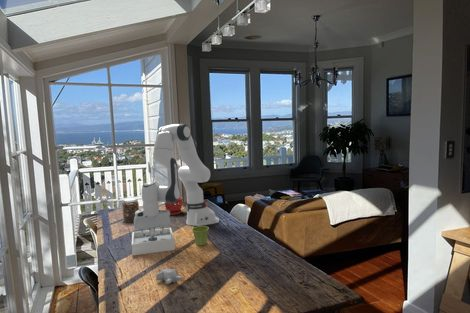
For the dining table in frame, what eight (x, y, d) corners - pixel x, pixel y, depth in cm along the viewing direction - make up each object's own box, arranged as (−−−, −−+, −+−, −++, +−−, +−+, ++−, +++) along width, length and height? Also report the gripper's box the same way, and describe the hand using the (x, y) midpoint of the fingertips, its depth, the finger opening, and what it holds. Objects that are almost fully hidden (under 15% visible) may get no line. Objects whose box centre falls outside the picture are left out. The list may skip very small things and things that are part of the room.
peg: (155, 242, 202) (154, 225, 201) (156, 244, 199) (154, 227, 198) (150, 243, 201) (148, 226, 200) (150, 245, 198) (149, 228, 197)
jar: (143, 218, 256) (142, 198, 255) (130, 222, 247) (129, 201, 245) (132, 217, 263) (130, 197, 261) (119, 221, 253) (118, 200, 252)
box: (171, 237, 211) (170, 227, 210) (174, 249, 190) (174, 238, 189) (133, 242, 205) (132, 232, 205) (132, 255, 184) (131, 244, 183)
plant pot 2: (212, 241, 200) (211, 226, 199) (204, 247, 191) (203, 231, 190) (198, 240, 203) (197, 225, 203) (189, 245, 195) (188, 230, 194)
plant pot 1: (181, 215, 261) (180, 199, 260) (163, 216, 261) (162, 200, 260) (184, 211, 274) (183, 195, 273) (167, 211, 274) (166, 196, 273)
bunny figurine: (172, 264, 160) (185, 271, 147) (174, 275, 160) (187, 283, 147) (152, 269, 155) (164, 277, 142) (153, 281, 155) (165, 290, 142)
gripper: (169, 207, 204) (170, 230, 206) (132, 211, 199) (134, 235, 200) (170, 210, 198) (171, 234, 200) (132, 214, 193) (134, 239, 194)
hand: (152, 234), depth 200 cm, fingers open, 8 cm apart
